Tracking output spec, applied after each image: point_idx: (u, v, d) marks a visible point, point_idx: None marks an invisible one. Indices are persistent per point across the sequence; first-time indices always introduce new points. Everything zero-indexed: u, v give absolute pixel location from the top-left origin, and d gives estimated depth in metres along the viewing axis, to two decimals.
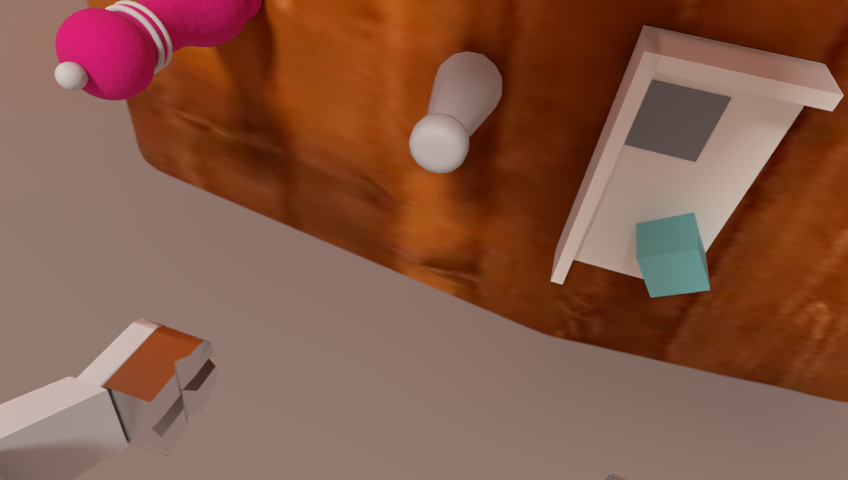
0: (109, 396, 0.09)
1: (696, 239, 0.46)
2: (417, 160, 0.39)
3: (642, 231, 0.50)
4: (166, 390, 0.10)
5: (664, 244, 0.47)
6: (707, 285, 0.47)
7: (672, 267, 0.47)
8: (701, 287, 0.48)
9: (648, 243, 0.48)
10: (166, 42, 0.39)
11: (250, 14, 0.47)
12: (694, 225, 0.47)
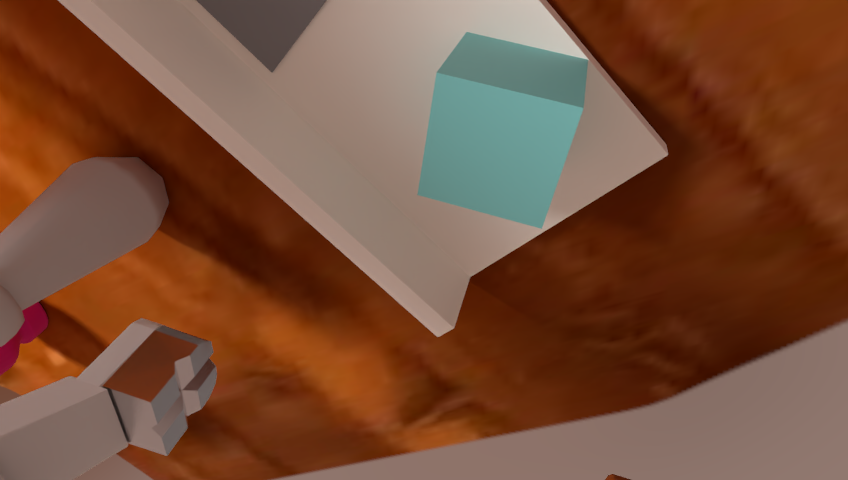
0: (109, 396, 0.09)
1: None
2: None
3: None
4: (166, 390, 0.10)
5: None
6: (564, 106, 0.18)
7: (469, 146, 0.19)
8: (563, 121, 0.18)
9: None
10: None
11: None
12: None
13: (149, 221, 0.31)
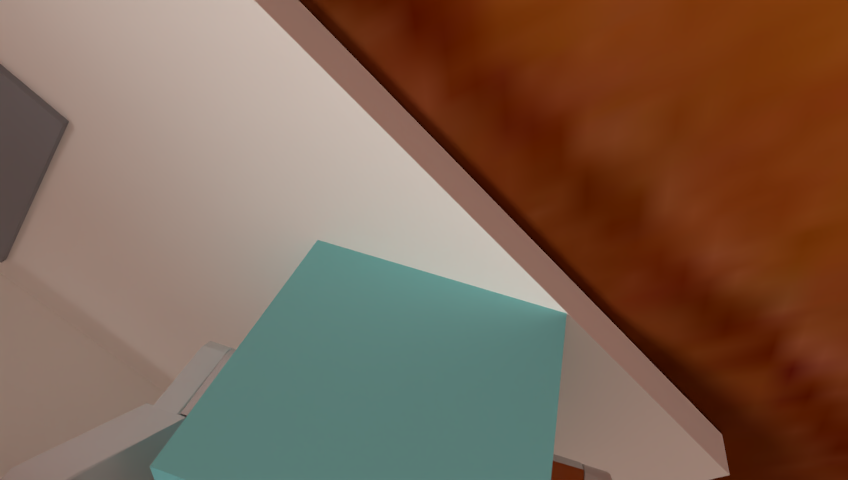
0: None
1: (211, 391, 0.08)
2: None
3: None
4: None
5: None
6: None
7: None
8: None
9: None
10: None
11: None
12: (271, 305, 0.09)
13: None
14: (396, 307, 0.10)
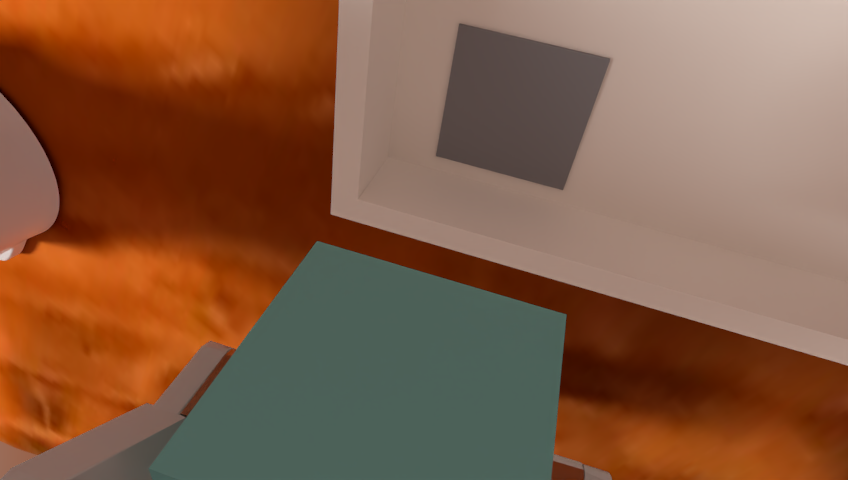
0: None
1: (210, 392, 0.08)
2: None
3: None
4: None
5: None
6: None
7: None
8: None
9: None
10: None
11: None
12: (271, 306, 0.09)
13: None
14: (396, 308, 0.09)
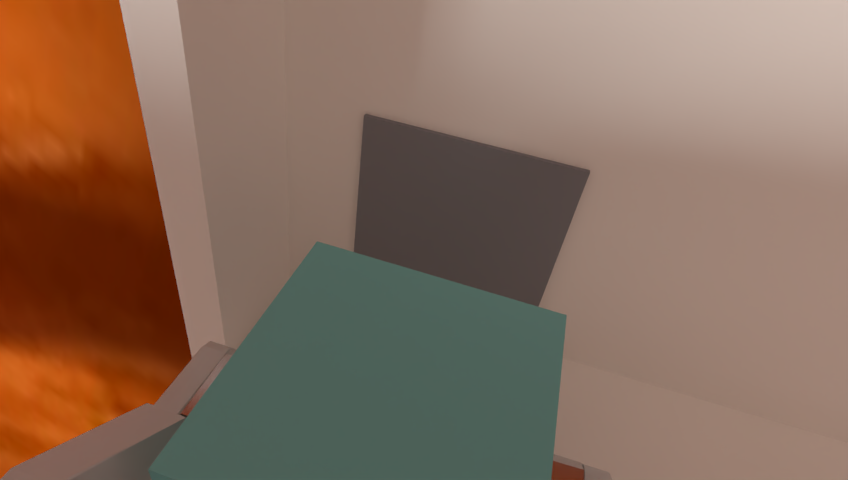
0: None
1: (210, 393, 0.08)
2: None
3: None
4: None
5: None
6: None
7: None
8: None
9: None
10: None
11: None
12: (270, 307, 0.09)
13: None
14: (395, 309, 0.09)
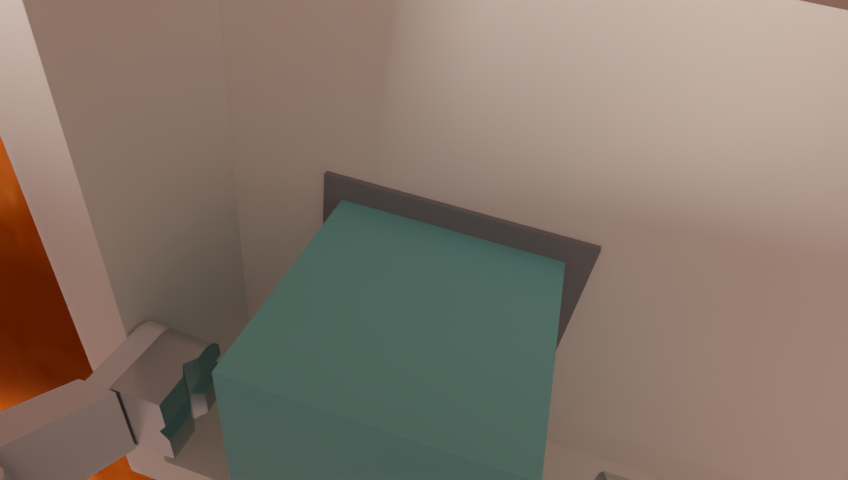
0: (117, 399, 0.09)
1: (257, 317, 0.09)
2: None
3: None
4: (174, 393, 0.10)
5: None
6: (496, 473, 0.07)
7: None
8: None
9: None
10: None
11: None
12: None
13: None
14: (414, 255, 0.11)
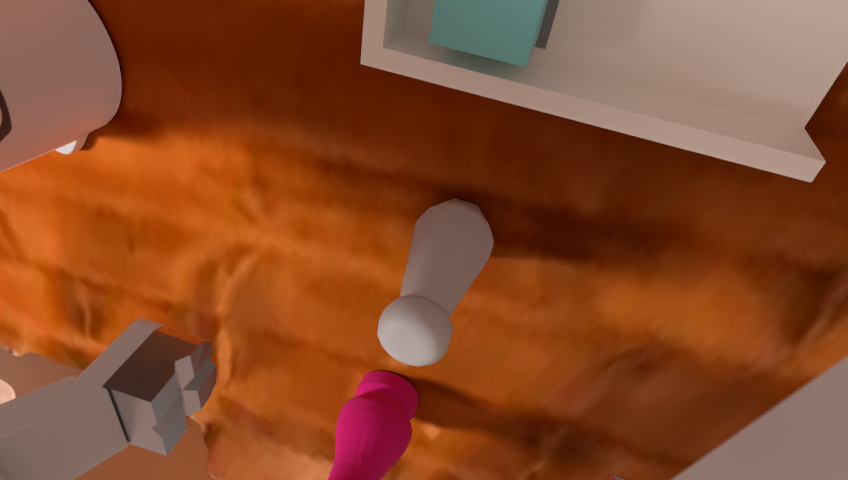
0: (109, 396, 0.09)
1: None
2: (423, 364, 0.31)
3: None
4: (166, 390, 0.10)
5: None
6: None
7: None
8: None
9: None
10: None
11: (402, 393, 0.52)
12: None
13: (488, 235, 0.37)
14: None
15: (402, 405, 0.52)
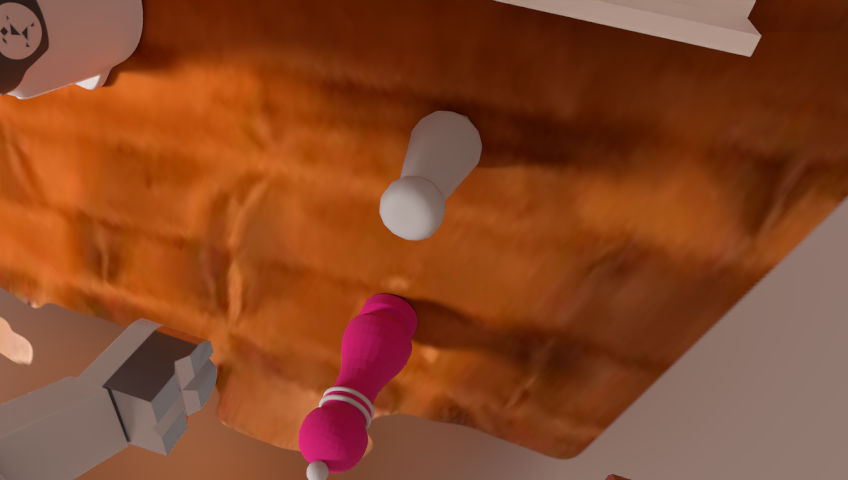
0: (109, 396, 0.09)
1: None
2: (420, 236, 0.35)
3: None
4: (166, 390, 0.10)
5: None
6: None
7: None
8: None
9: None
10: (346, 392, 0.48)
11: (402, 312, 0.56)
12: None
13: (476, 139, 0.41)
14: None
15: (402, 323, 0.56)
